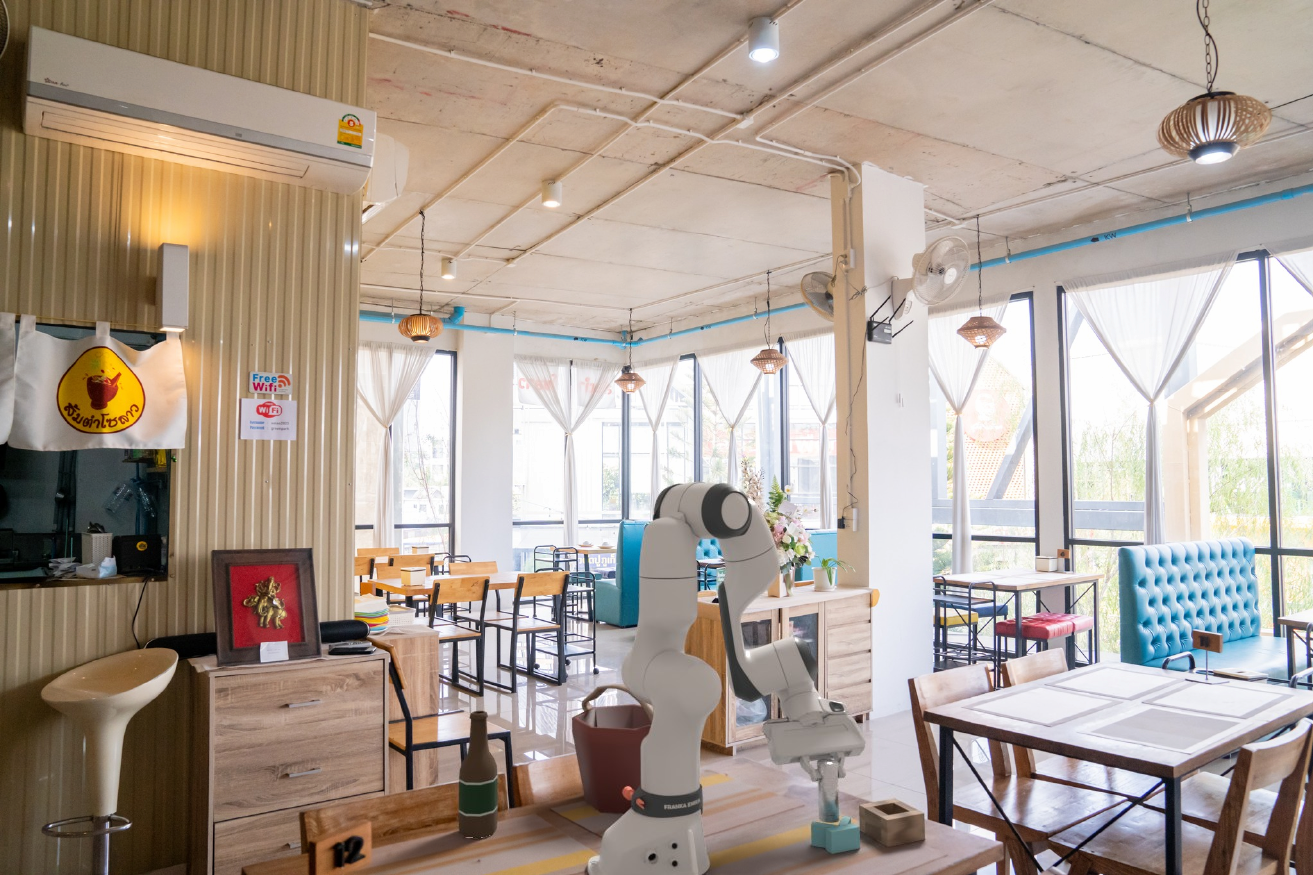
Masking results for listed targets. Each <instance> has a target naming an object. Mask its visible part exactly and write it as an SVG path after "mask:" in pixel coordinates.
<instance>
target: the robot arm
mask: <svg viewBox="0 0 1313 875" xmlns="http://www.w3.org/2000/svg"><path fill="white" fill-rule="evenodd" d="M711 539H716V540H717V542H718V545H719V548H720V551H721V555H722V559H723V561H724V565H725V569H724V570H725V573H724V576H723V577H724V578H723V581H722V582H721V583H720V584H719V585H718V589H717V599H718V607H719V616H720V622H721V629H722V635H723V642H724V648H725V653H726V675H727V676H726V677H727V681H728V682H727V683H728V685H729V688H730V690H731V692H732V693H733V695H734V696H735V697H737V699H740V700H741V701H745V702H747V703H754V702H756V701H757V700H761V699H763V698H765V697H766V696H768V695H771V694H775V695H776V696H777V697H778V699H779V705H780V710H781V714H782V716H783V717H779V718H775V719H774V718H771V719H766V721H765V722H764V723H763V724H762V731H763V735H764V737H765V738H766V739H767V746H768V750H769V751H768V752H769V756H770V759H771V761H772V763H774V764H775V765H776V766H781V765H790V764H791V765H792V764H799V765H800V768H802V770H804V771H805V773H807V774H808V775H809V777H810V779H811V782H818V781H820V779H821V774H820V771H819V769H817V768H815V767H814V766H813V765H812V764H811V762H814V761H815V762H816V761H818V760H820V759H832V760H836V761H837V762H838V780H839V779H844V778H846V775H847V772H846V770H845V768H844V764H845V759H846V758H850V757H858V756H861V754H862V753H863V751H864V750H865V748H866V743H867V742H866V740H865V736H864V734H863V733H862V731H861V729H860V728H861V727H860V726H859V725H858V723H857V722H856V720H855V718H854V717H852V716H851V715H849V711H850V710H849V709H850V708H849V707H848V705H847V703H844V702H840V701H836V700H830V699H827V698H824V697H822V696H821V694H820V693H819V691H818V690H817V689H816V687H815V680H816V679H817V674H818V672H819V666H818V664H817V662H816V660H815V659H814V657H813V655H812V651H811V648H810V644H809V642H807V641H806V640H804V639H802V637H801V638H800V637H798V636H796V635H793V636H792V635H791V636H787V637H783V638H781V639H778V640H776V641H772V642H771V643H767V644H765V645H762V646H759V647H756V648H753V649H750V650H748V649H745V643H744V635H743V631H742V623H741V622H742V621H741V620H742V615H743V614H744V612H745V611H746V609H747V608H748V607H749V606H750V605H751V604H752V603H753V602H754V601H755V600H757V599H758V598H759V597H760V596H762V595H763V594H764V593H765V592H767V591H768V590H769V589H770V588H771V587H772V585H773V584H774V583H775V581H776V580H777V577H778V575H779V573H780V568H781V561H780V557H779V552H778V548H777V545H776V542H775V539H774V536H773V533H772V531H771V529H770V526H769V524H768V522H767V520H766V518H765V516H764V514H763V512H762V510H761V508H760V507H759V504H757V502H756V501H754V500H753V499H751V498H748V496H747V494H746V493H745V492H744V491H743V490H742V489H741V488H740V487H738V486H736V485H733V484H729V483H725V482H719V483H717V482H716V483H714V482H705V481H693V482H687V483H675V484H672V485H669V486H667V487H666V488H664V489H662V490H661V491H660V492H659V494H658V495H657V498H656V500H655V504H654V508H653V515H652V520H651V522H648V524H646V526H645V528H644V531H643V534H642V540H641V547H640V555H639V570H638V571H639V574H638V575H639V577H638V578H639V585H638V587H639V589H638V590H639V593H638V599H639V600H638V602H639V603H638V604H639V605H638V608H639V609H638V619H637V620H638V621H637V626H636V631H635V636H634V641H633V643H632V647H631V649H630V650H629V652H628V653H627V654H626V656H625V658H624V660H623V662H622V665H621V670H620V671H621V672H620V673H621V674H620V675H621V679H622V682H623V685H625V686H626V687H627V689H628V690H629V691H630V692H631V693H632V694H633V695H634V696H635V697H636V698H637V699H639V700H641V701H643V702H645V703H647V704H650V705H652V706H653V720H652V724H651V728H650V731H649V734H648V735H647V736H646V737H645V738H644V739H643V741H642V743H641V784H640V785H639V787H638V789H637V790H636V791H634V790H633V789H632V788H631V787H629V786H627V787H625V788H624V790H623V792H622V793H623V796H624V797H625V798H626V799H627V800H631V806H632V807H631V808H630V809H629V810H628V811H627V812H626V813H625V814H622V816H620V817H619V818H618V819H617V820H616V821H615V822H614V823H613V824H611V826H610V827H608V828H607V829H606V830H605V831H604V832H603V834H602V837H601V842H600V849H599V854H598V855H594V856H592V857H590V858H589V860H587V861H588V862H587V873H588V875H704V874H705V873H706V872H707V871H708V870H709V869H710V866H711V861H710V857H709V855H708V851H707V846H706V841H705V837H704V830H703V829H704V828H703V819H702V816H703V811H704V796H703V795H704V794H703V793H704V792H703V785H702V783H701V742H702V735H703V732H704V728H705V725H706V722H707V719H708V718H709V715H710V714H712V713H713V712H714V711H715V709H716V708H717V706H718V705H719V703H720V700H721V698H722V690H723V687H722V686H723V685H722V681H721V677H720V676H719V674H718V672H717V670H715V668H713V667H712V666H711V665H710V664H708V663H707V662H706V661H704V660H703V659H702V658H700V657H697V656H695V655H692V654H688V653H685V645H686V641H687V636H688V633H689V630H690V628H691V626H692V625H694V623H695V622H696V621H697V618H698V614H699V612H698V610H699V609H698V607H699V602H698V600H699V598H698V596H699V595H698V594H699V593H698V592H699V591H698V562H697V549H698V547H699V544H700V542H701V540H711Z"/></svg>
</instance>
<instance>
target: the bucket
mask: <svg viewBox="0 0 1313 875" xmlns="http://www.w3.org/2000/svg"><path fill="white" fill-rule="evenodd" d="M607 689H608V690H609V689H612V690H613V689H615V690H619V691H621V692H624V693H627V694H629V695H630V696H631V697H632V698H633V699H634V700H635V701H636V702H637V703H638V704H633V703H632V704H622V705H621V704H619V705H603V706H593V705H591V703H590V702H591V701H594V700H596V699H598V698H599V697H600V696H602V695H603V694H604V693H605V691H606V692H607ZM581 709H582V710H583V712H580V713H579V714H577V715H574V716H573V717H571V734H572V739H573V743H574V748H575V754H576V759H577V765H578V770H579V774H580V780H581V786H582V790H583V795H584V802H585V803H586V804H588V805H589V806H590V807H591V808H593V810H595V811H597V813H600V814H614V815H615V814H616V815H617V814H618V815H624V814H625V813H626V812H627V811H628V810H629V809H630V808H631V807H632V806H631V800H627V799H626V798H625V797H624V796H623V793H622V792H623V790H624V788H625V787H627V786H629V787H631V788H632V789H633V790H634V791H636V790H637V789H638V787H639V785H640V784H641V743H642V741H643V739H644V738H645V737H646V736H647V735H648V734H649V731H650V728H651V724H652V720H653V706H652V705H650V704H647V703H645V702H643V701H641V700H639V699H637V698H636V697H635V696H634V695H633V694H632V693H631V692H630V691H629V690H628V689H627V687H626V686H625V684H617V683H615V684H608V685H603V686H597V687H596V688H594V690H593V691H592V692H591V693H590V694H588V695H587V696H586V697H585V698H584V699H583V700H582V701H581Z"/></svg>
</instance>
